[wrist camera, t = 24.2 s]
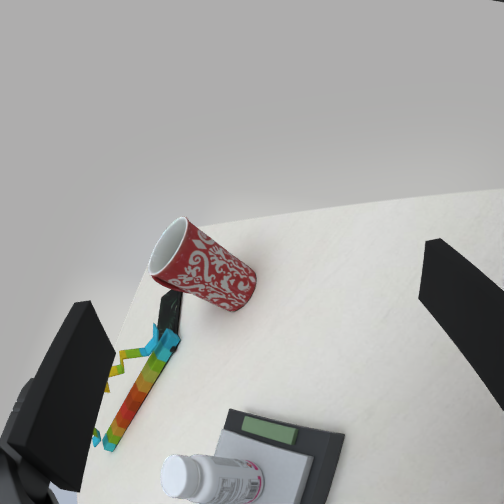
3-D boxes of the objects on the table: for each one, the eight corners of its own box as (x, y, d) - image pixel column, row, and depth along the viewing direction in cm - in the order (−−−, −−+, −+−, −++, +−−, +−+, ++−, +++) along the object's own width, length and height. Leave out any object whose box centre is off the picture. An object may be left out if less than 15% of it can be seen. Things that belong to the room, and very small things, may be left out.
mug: (264, 254, 49) (193, 204, 42) (258, 308, 44) (175, 261, 37) (211, 280, 57) (147, 241, 50) (202, 327, 51) (130, 291, 44)
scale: (244, 412, 35) (222, 406, 34) (345, 434, 25) (324, 431, 23) (214, 511, 29) (190, 511, 27) (304, 560, 19) (279, 567, 17)
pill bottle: (225, 472, 28) (154, 462, 23) (255, 452, 27) (182, 440, 23) (238, 510, 24) (162, 507, 19) (272, 492, 23) (194, 490, 19)
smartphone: (152, 361, 56) (160, 297, 67) (157, 362, 57) (164, 299, 67) (172, 349, 53) (179, 282, 63) (177, 351, 53) (183, 284, 64)
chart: (174, 331, 57) (101, 296, 49) (180, 339, 54) (102, 304, 46) (110, 441, 55) (44, 420, 47) (112, 451, 53) (44, 431, 45)
